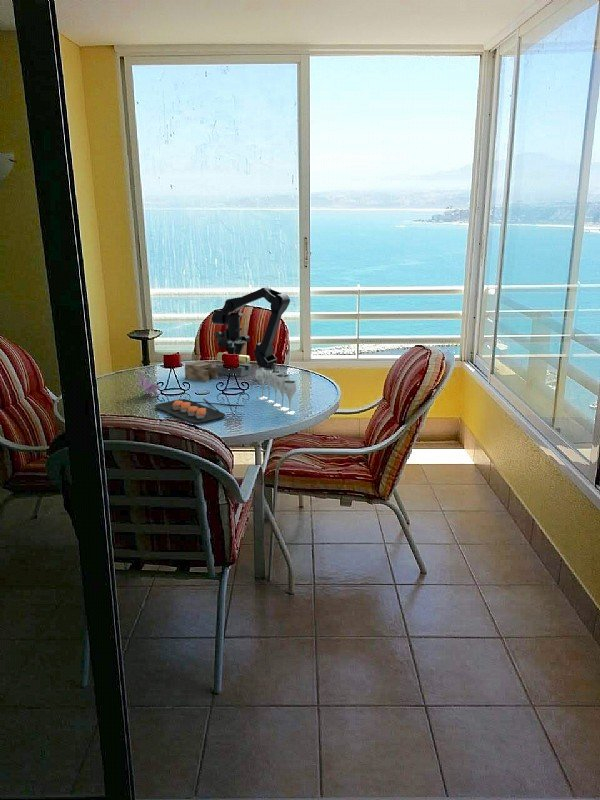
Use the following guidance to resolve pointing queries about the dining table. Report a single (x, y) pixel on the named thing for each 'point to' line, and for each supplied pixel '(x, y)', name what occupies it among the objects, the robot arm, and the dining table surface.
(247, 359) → the axle
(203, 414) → the sushi plate
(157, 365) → the dining table surface
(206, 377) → the wooden block
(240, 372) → the v block
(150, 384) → the lily
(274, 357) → the robot arm
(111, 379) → the dining table surface
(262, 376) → the goblet set
